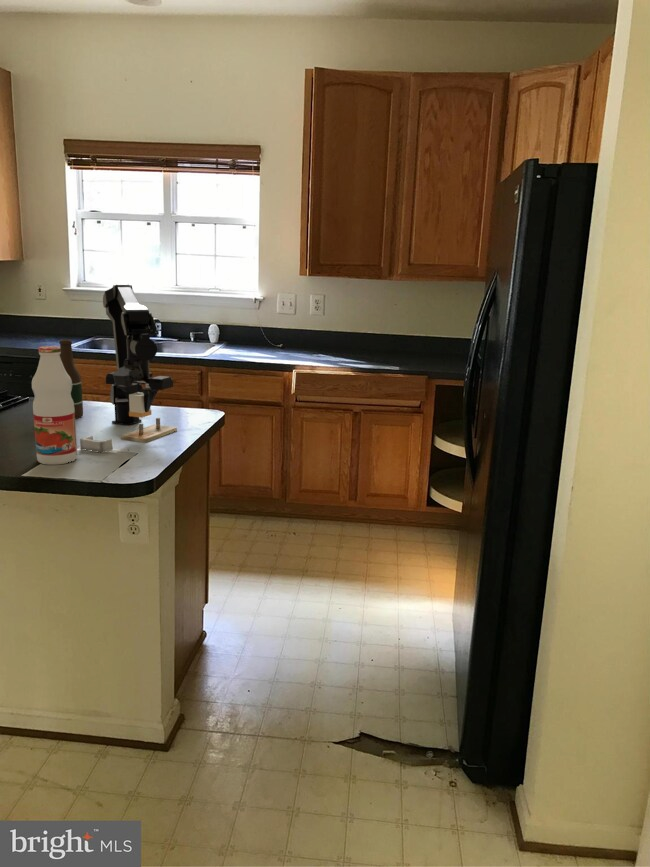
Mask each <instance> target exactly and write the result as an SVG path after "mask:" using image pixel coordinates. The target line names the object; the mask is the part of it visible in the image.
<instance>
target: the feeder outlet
mask: <svg viewBox="0 0 650 867" xmlns="http://www.w3.org/2000/svg"><path fill="white" fill-rule="evenodd" d="M79 441H80V442H79V444H80V446H79V447H80V450H81V449H86V450H85V451H87V450H92V451H91V452H93V451H98V452H97V453H100V452H103V453H106V452H109V451H111V450H113V439H112V438H107V439H105V440H101V441H100V440H94V435H88V436H85V437H83V438H80V439H79Z"/></svg>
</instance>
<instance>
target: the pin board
mask: <svg viewBox="0 0 650 867" xmlns="http://www.w3.org/2000/svg"><path fill="white" fill-rule="evenodd" d="M174 431H175V432H177V431H178V428H177V426H169V425H162V424H161V417H156V418H155V424H151V425H148V426H145V427H144V423H138V429H137V430H134V431H130V432H128V433H125V434H122V435H121V440H125V439H126V440H127V441H132V442H140V443H149V442H151V441H153V439H154V440H157V439H159V438H161V436H162V437H164V436H166V434H167V435H170V434H173V433H175V432H174ZM169 433H170V434H169Z"/></svg>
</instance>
